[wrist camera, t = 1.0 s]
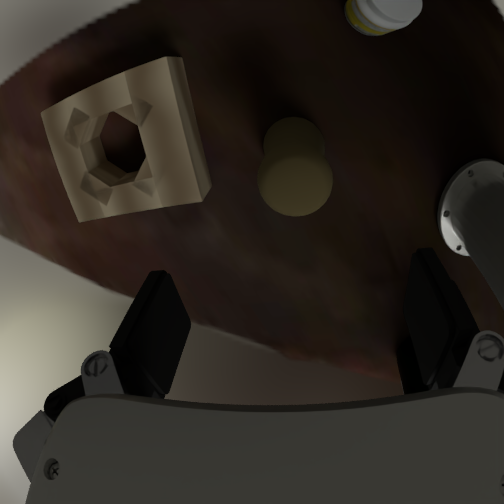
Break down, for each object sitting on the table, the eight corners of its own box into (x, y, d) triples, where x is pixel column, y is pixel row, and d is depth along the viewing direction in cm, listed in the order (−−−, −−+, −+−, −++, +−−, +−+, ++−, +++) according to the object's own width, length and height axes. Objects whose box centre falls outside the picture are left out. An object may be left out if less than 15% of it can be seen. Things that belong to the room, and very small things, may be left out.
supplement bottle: (378, -12, 17) (409, -36, 10) (400, 30, 19) (439, 20, 12) (334, -1, 19) (350, -26, 12) (357, 42, 21) (383, 32, 14)
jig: (181, 57, 24) (166, 56, 20) (212, 185, 31) (202, 201, 28) (62, 105, 27) (40, 112, 23) (96, 206, 34) (79, 222, 31)
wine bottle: (416, 369, 46) (438, 538, 19) (383, 352, 43) (400, 552, 17) (461, 337, 40) (503, 515, 13) (432, 315, 38) (480, 532, 11)
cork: (256, 164, 29) (238, 215, 20) (272, 108, 26) (262, 130, 17) (313, 182, 30) (321, 240, 21) (333, 128, 26) (356, 162, 17)
